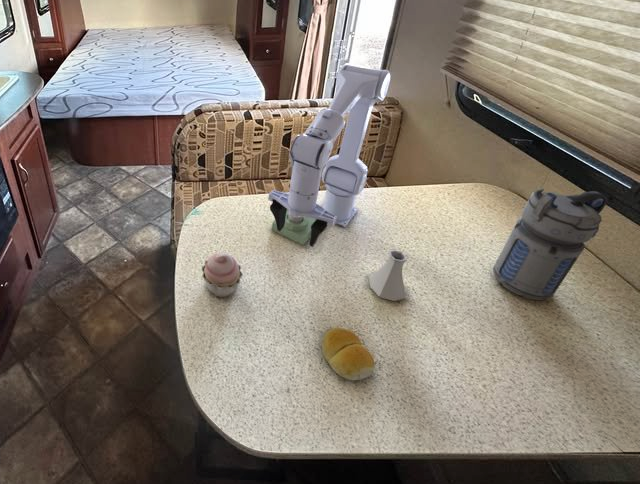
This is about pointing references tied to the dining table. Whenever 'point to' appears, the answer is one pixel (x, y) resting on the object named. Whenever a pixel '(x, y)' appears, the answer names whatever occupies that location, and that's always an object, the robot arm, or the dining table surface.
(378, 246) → the dining table surface
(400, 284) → the flask
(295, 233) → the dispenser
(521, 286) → the beverage bottle
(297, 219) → the grey short cylinder
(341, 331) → the bread roll
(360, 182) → the robot arm
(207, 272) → the cupcake
